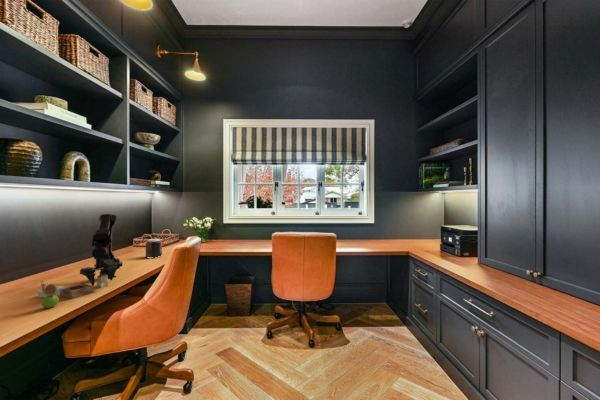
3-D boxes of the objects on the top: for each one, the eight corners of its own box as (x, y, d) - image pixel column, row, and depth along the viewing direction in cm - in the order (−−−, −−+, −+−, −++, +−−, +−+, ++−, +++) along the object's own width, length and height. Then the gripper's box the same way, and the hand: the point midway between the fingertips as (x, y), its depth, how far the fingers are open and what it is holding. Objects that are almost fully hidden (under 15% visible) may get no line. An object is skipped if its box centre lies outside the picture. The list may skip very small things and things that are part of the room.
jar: (153, 259, 201) (153, 240, 201) (142, 258, 204) (142, 240, 204) (165, 256, 212) (165, 238, 212) (154, 255, 216) (154, 238, 216)
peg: (103, 285, 138) (103, 273, 138) (107, 285, 137) (107, 274, 137) (96, 287, 135) (96, 275, 135) (101, 288, 134) (101, 276, 134)
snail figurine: (47, 305, 112) (47, 278, 112) (62, 304, 112) (62, 278, 113) (35, 310, 107) (35, 282, 107) (51, 309, 107) (51, 282, 107)
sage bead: (51, 292, 128) (51, 286, 128) (65, 291, 128) (65, 286, 128) (37, 297, 121) (37, 291, 121) (52, 297, 121) (52, 291, 121)
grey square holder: (81, 290, 131) (81, 283, 131) (93, 292, 128) (93, 285, 128) (59, 296, 122) (60, 289, 122) (72, 299, 119) (72, 291, 119)
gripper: (93, 259, 125) (93, 290, 125) (129, 252, 143) (129, 279, 143) (79, 258, 128) (79, 288, 128) (115, 251, 146) (115, 277, 146)
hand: (102, 282), depth 136 cm, fingers open, 9 cm apart
